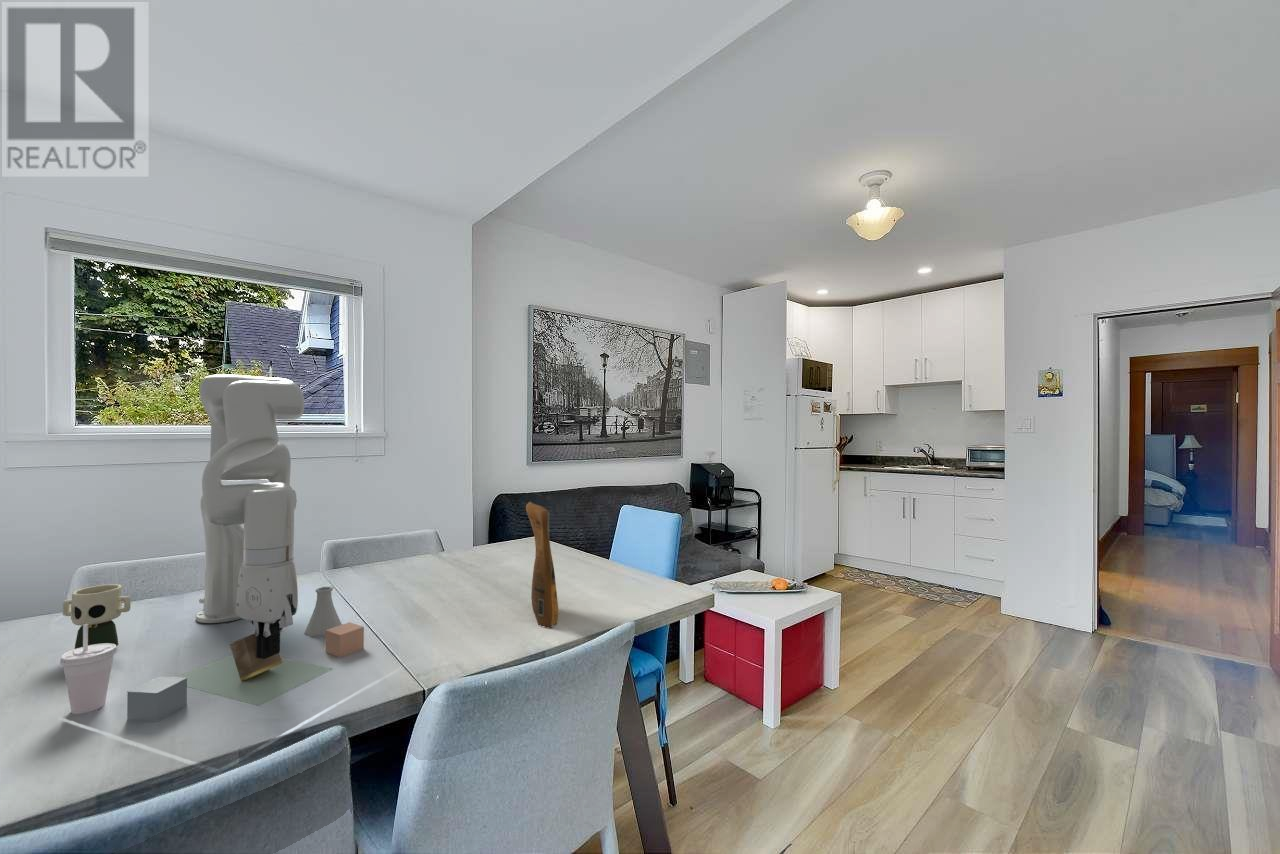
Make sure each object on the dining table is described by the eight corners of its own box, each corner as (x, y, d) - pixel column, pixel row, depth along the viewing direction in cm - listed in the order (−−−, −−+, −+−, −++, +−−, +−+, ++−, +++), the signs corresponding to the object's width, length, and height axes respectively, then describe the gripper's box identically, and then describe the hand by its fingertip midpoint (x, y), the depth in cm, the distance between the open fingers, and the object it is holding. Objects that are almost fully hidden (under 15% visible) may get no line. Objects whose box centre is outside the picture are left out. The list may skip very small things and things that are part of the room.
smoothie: (86, 700, 88) (87, 617, 88) (127, 699, 89) (128, 616, 89) (46, 721, 82) (47, 632, 82) (90, 720, 83) (91, 631, 83)
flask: (325, 640, 114) (325, 594, 114) (296, 637, 115) (297, 592, 115) (349, 628, 121) (350, 584, 121) (322, 625, 122) (323, 582, 122)
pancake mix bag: (533, 633, 119) (534, 510, 119) (524, 605, 137) (525, 499, 137) (562, 630, 121) (564, 509, 121) (549, 603, 139) (551, 498, 139)
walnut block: (241, 681, 95) (229, 644, 96) (268, 669, 99) (257, 634, 100) (255, 675, 93) (243, 637, 94) (282, 663, 98) (271, 627, 99)
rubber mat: (165, 682, 95) (165, 680, 95) (245, 651, 108) (245, 649, 108) (258, 707, 87) (258, 705, 87) (333, 670, 100) (333, 668, 100)
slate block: (127, 723, 82) (127, 691, 82) (158, 706, 87) (158, 676, 87) (156, 725, 82) (157, 693, 82) (186, 707, 87) (187, 677, 87)
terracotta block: (325, 654, 107) (325, 630, 107) (349, 645, 112) (349, 622, 112) (340, 660, 105) (340, 635, 105) (363, 650, 109) (363, 626, 109)
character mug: (48, 663, 101) (49, 596, 101) (75, 648, 108) (76, 585, 108) (118, 657, 104) (118, 592, 104) (140, 643, 111) (141, 582, 111)
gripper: (219, 556, 95) (218, 657, 95) (278, 564, 90) (277, 670, 90) (261, 547, 102) (260, 641, 102) (318, 554, 97) (317, 653, 97)
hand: (268, 655), depth 96 cm, fingers closed
